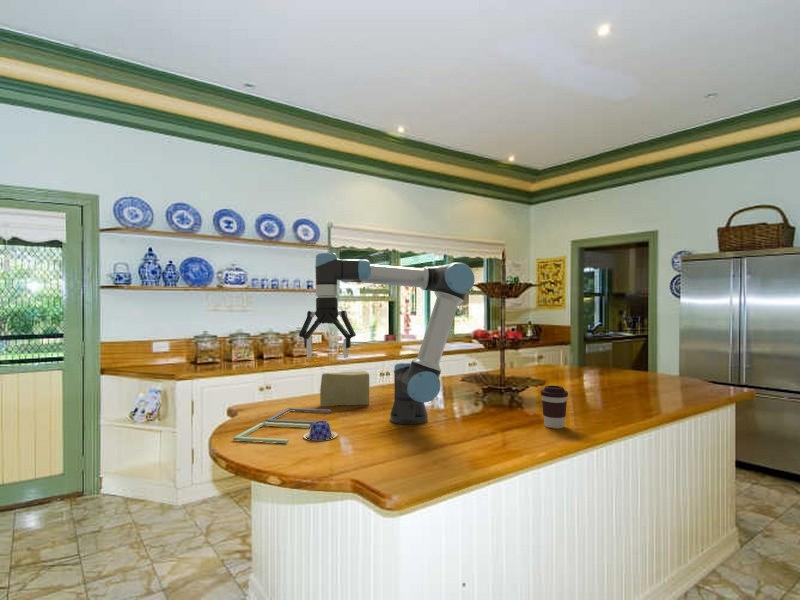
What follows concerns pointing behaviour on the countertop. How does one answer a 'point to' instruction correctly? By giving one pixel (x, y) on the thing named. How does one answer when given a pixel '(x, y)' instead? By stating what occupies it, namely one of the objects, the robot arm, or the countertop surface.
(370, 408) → the countertop surface
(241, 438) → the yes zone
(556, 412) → the coffee cup
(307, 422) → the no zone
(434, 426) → the countertop surface
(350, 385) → the olive beige rectangular block
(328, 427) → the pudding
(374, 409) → the countertop surface
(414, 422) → the robot arm
